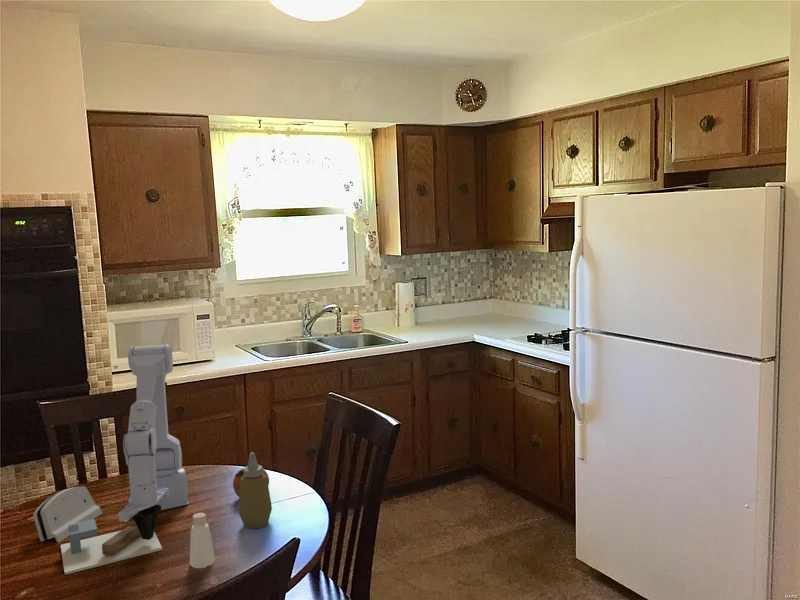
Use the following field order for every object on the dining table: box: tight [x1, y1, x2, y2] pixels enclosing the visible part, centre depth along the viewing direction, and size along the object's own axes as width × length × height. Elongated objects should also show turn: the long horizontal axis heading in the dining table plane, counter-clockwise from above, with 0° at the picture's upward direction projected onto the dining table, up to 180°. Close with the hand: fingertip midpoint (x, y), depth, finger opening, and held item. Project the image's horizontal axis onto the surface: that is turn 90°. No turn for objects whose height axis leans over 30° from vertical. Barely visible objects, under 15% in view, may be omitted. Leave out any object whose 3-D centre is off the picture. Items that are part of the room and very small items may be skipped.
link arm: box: [102, 520, 141, 556], centre depth 156 cm, size 13×4×3 cm, turn 165°
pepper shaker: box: [189, 512, 216, 569], centre depth 147 cm, size 5×5×11 cm
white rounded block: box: [32, 485, 103, 543], centre depth 167 cm, size 17×5×10 cm, turn 167°
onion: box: [232, 467, 270, 498], centre depth 181 cm, size 10×9×10 cm
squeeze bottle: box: [238, 452, 273, 529], centre depth 164 cm, size 8×8×18 cm
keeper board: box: [60, 518, 163, 576], centre depth 155 cm, size 20×14×6 cm
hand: (147, 538), depth 155 cm, fingers closed
